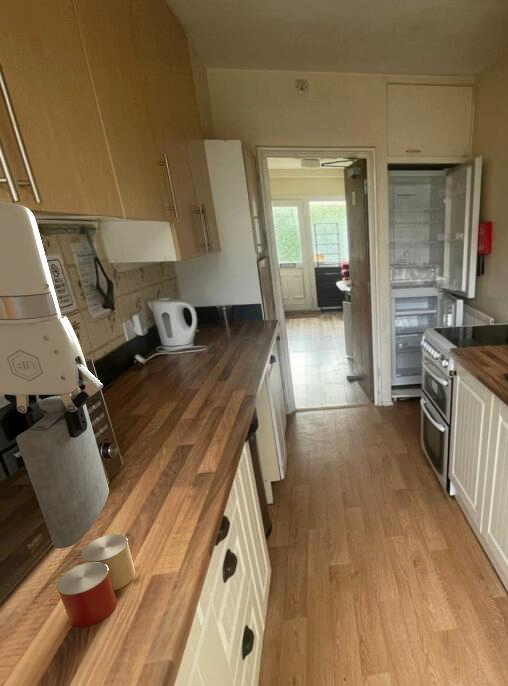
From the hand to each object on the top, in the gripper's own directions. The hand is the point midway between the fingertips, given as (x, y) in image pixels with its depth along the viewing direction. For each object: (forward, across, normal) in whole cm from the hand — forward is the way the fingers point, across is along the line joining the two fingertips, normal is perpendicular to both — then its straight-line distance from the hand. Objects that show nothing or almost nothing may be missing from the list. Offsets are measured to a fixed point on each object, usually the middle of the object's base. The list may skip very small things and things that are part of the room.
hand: (60, 432), depth 63 cm
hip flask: (+15, 0, 0) cm, 15 cm away
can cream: (+30, 0, +2) cm, 30 cm away
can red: (+30, 0, -5) cm, 30 cm away
